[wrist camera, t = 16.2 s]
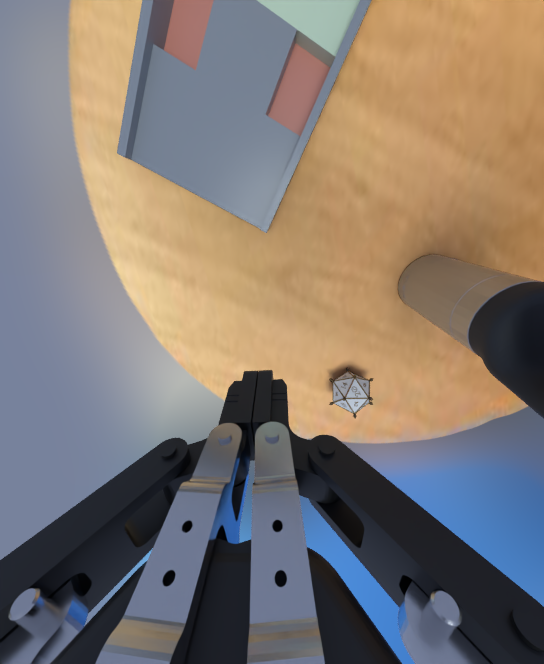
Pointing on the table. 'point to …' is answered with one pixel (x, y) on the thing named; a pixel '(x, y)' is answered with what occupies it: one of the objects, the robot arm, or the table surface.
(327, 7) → the box
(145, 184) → the table surface
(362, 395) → the game die
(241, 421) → the robot arm
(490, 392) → the table surface
